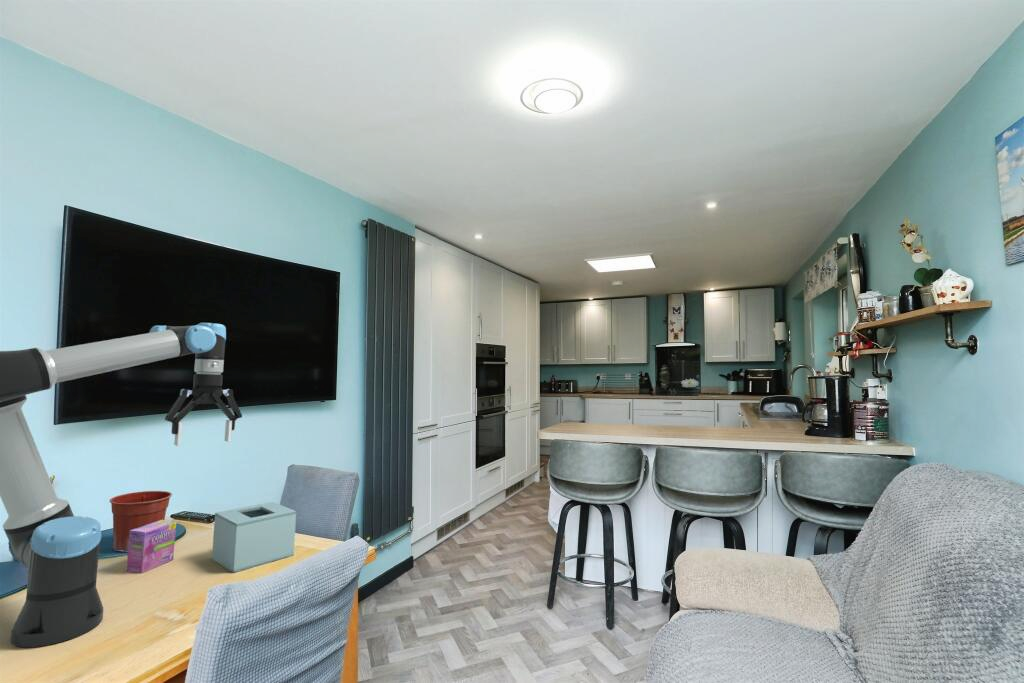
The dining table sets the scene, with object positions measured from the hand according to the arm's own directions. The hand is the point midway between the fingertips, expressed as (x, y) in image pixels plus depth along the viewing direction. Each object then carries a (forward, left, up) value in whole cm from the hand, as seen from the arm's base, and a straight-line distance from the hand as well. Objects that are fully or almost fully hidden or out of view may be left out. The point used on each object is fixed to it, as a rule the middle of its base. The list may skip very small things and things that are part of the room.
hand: (203, 443), depth 145 cm
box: (-8, +10, -37) cm, 39 cm away
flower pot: (-6, +31, -37) cm, 49 cm away
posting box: (+15, -5, -37) cm, 40 cm away
